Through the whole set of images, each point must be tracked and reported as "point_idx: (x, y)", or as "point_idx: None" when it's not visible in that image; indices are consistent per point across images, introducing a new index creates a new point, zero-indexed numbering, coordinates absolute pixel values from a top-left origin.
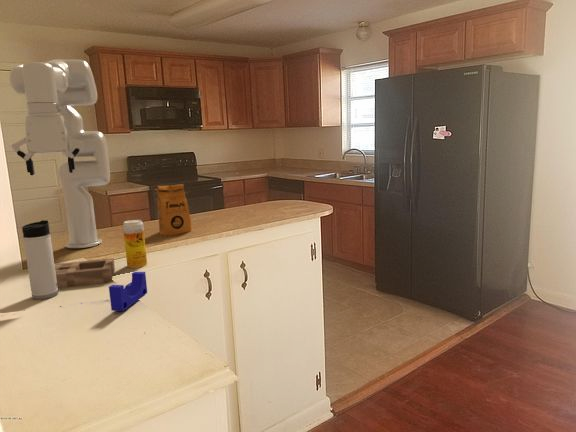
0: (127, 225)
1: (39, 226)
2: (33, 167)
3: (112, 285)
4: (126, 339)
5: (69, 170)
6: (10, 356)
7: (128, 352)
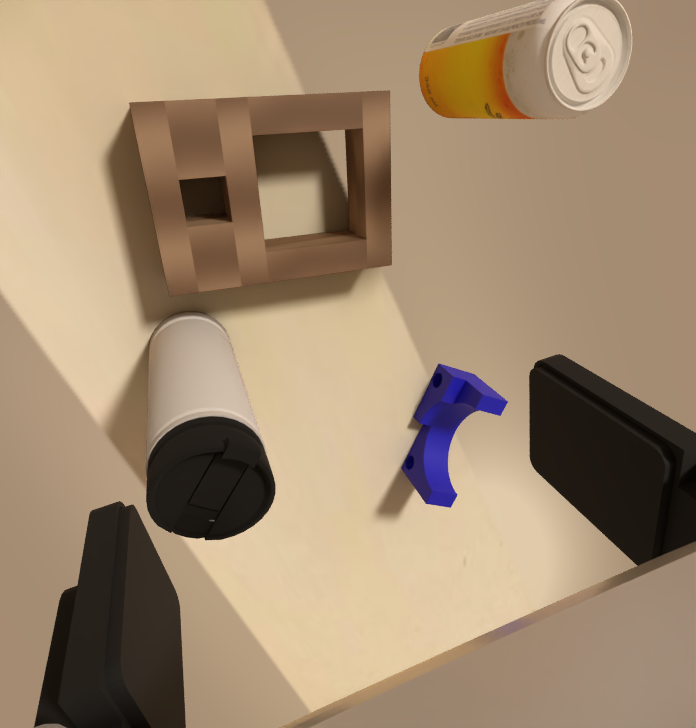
0: (551, 109)
1: (238, 502)
2: (139, 593)
3: (433, 496)
4: (437, 582)
5: (547, 476)
6: (266, 636)
7: (442, 614)
